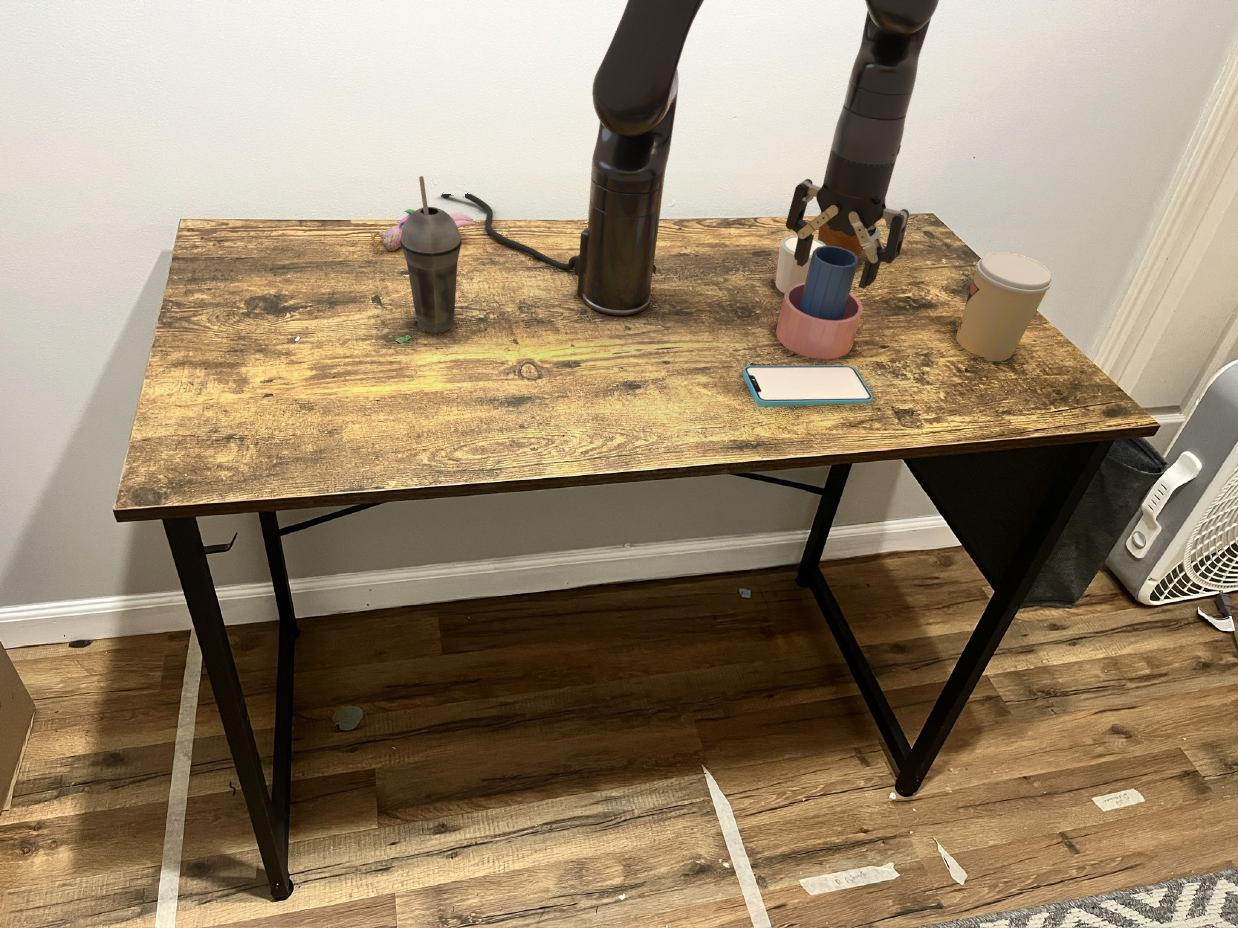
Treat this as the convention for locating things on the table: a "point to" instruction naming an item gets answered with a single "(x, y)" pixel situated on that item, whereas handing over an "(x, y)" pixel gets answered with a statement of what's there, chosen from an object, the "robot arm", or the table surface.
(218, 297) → the table surface
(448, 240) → the beverage cup
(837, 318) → the blue cup
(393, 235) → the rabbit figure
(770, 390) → the smartphone
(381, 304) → the table surface
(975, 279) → the coffee cup
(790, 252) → the white cylinder
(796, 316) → the pink cup
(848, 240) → the disposable coffee cup
